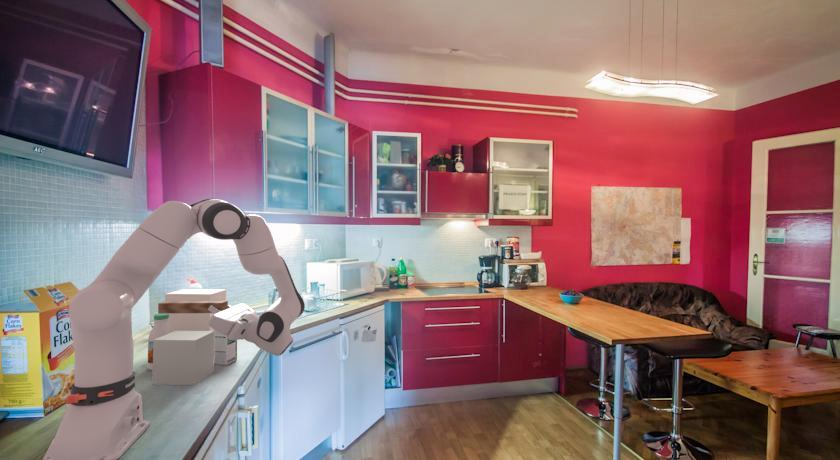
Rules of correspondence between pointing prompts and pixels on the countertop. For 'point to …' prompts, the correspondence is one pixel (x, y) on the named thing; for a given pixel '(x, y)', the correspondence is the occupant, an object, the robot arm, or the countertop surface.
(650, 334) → the countertop surface
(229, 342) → the syrup box
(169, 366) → the box
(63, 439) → the robot arm
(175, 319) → the white box
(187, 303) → the walnut rail
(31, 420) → the countertop surface
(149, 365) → the milk bottle
